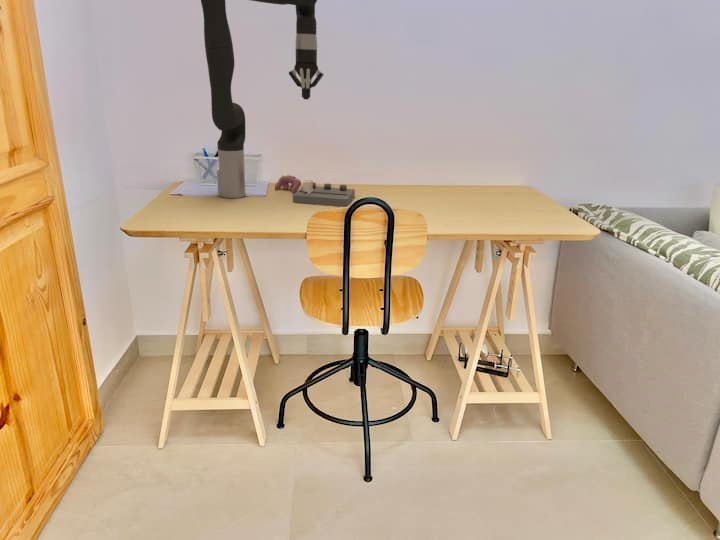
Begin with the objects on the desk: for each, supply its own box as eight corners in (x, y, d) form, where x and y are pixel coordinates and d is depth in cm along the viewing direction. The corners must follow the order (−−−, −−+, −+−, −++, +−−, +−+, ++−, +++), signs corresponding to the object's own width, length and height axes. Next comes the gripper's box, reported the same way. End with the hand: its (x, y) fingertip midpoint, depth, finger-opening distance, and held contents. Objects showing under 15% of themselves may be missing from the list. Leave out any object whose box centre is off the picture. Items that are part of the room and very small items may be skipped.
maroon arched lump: (299, 196, 216) (304, 179, 216) (292, 193, 212) (297, 175, 212) (279, 192, 220) (284, 175, 221) (272, 189, 216) (277, 172, 217)
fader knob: (303, 191, 202) (303, 181, 201) (306, 188, 206) (306, 178, 205) (309, 192, 202) (309, 182, 201) (312, 189, 206) (312, 179, 205)
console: (292, 202, 201) (292, 190, 199) (304, 192, 215) (304, 180, 213) (346, 206, 198) (347, 194, 196) (354, 196, 212) (354, 184, 211)
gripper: (285, 47, 192) (285, 99, 199) (322, 48, 190) (321, 101, 197) (291, 47, 199) (291, 97, 206) (326, 49, 197) (326, 99, 204)
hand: (306, 99), depth 201 cm, fingers closed
